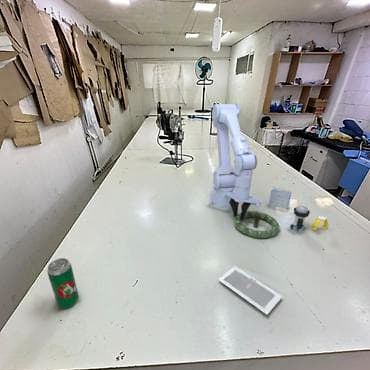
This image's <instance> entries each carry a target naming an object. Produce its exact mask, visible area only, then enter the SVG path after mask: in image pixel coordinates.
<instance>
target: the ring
mask: <svg viewBox="0 0 370 370" xmlns="http://www.w3.org/2000/svg"><path fill="white" fill-rule="evenodd" d="M256 213H258V214H260V219H261V220H265V221H266V222H267V223H269V224H270V225H271V229H267V230H255V229H252V228H249V227H246V225H244V224H243V223H242V221H241V212H238V214H237V216H236V217H233V223H234V226H235V228H236V229H237V230H238V231H239V232H241V233H242V234H243V235H247V236H249V237H252V238H260V239H268V238H272V237H274V236H276V235H278V232H279V231H280V229H281V227H280V224H279V222H278V221H277V219H276V218H274V217H273V216H271V215H270V214H268V213H265V212H262V211H259V210H258V211H257V210H247V211H246V213H245V216H244V218H243V219H246V218H255V214H256Z"/></svg>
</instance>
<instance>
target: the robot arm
mask: <svg viewBox="0 0 370 370" xmlns="http://www.w3.org/2000/svg"><path fill="white" fill-rule="evenodd" d="M240 113H241V108H240V106H239V104H238V103H215V104H214V105H213V107H212V111H211V118H212V120H211V121H212V126H213V127H214V128H216V139H217V153H218V165H219V166H218V167H217V168H216V169H215V170H214V171H213V178H212V184H213V186H212V187H211V190H210V197H209V205H214V206H216V207H219V208H221V209H228V208H231V210H232V216H233V218H235V217H236V216H237V214H238V213H239V204H240V203H241V206H240V207H241V212H240V213H241V220H244V219H245V218H244V216H245V213H246V211H248V209H249V208H250V206H252V205H253V206H255V207H257V208H259V207H260V206H261V205H262V204H261V203H262V200H261V199H259V198H255V197H253V196H252V195H250V193H251V186H252V185H251V184H252V178H253V171H254V170H256V169H257V166H258V157H257V155H256V154H255V153H254V152H253V151H252V150H251V149H250V146H249V142H248V140H247V137H246V136H244V135H243V134H242V130H241V126H240V121H239V119H240ZM230 137H231V141H230ZM230 146H231V147H230ZM231 148H232V152H233V154H234V155H233V156H234V159H233V165H234V167H233V166H232V161H231Z"/></svg>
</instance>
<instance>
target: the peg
mask: <svg viewBox="0 0 370 370" xmlns="http://www.w3.org/2000/svg"><path fill="white" fill-rule="evenodd" d="M260 219H261V218H260V214H258V213H256V214H255V217H253V225H252V227H253V228H254V229H258V228H259V224H260Z"/></svg>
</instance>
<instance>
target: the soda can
mask: <svg viewBox="0 0 370 370" xmlns="http://www.w3.org/2000/svg"><path fill="white" fill-rule="evenodd" d="M46 272H47V276H48V280H49V283H50V286H51V289H52V293H53V297H54V300H55V302H56V306H57V307H58V308H60V309H68V308H71V307H73V306H74V305H75V304H76V303H77V302H78V300H79V298H80V295H79V291H78V288H77V283H76V279H75V275H74V271H73V266H72V263H71V262H70V261H69V260H68V259H67V258H63V257H62V258H57V259H54V260H53V261H51V262H50V263H49V264H48V266H47V271H46Z"/></svg>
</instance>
